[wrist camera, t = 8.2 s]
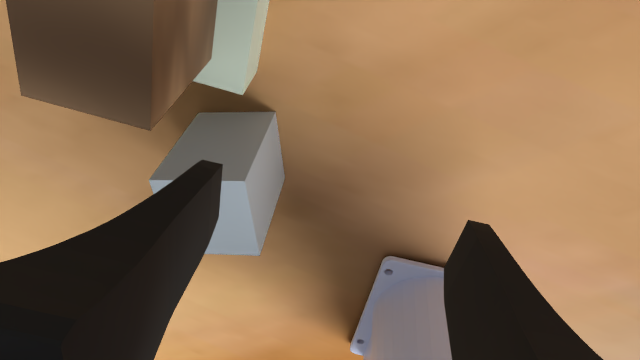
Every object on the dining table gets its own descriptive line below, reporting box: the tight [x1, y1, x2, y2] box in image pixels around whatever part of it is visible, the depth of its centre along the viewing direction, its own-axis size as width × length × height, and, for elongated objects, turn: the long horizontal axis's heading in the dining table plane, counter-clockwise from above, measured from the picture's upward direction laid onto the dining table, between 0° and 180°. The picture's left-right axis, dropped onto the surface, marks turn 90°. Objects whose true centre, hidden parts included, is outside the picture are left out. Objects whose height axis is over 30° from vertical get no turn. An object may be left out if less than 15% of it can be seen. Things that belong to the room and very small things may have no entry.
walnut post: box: [6, 0, 218, 131], centre depth 15 cm, size 4×4×6 cm
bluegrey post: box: [149, 112, 285, 256], centre depth 22 cm, size 4×4×6 cm
